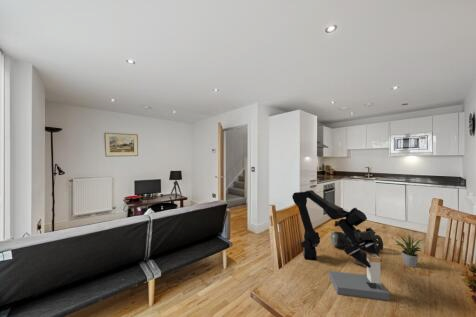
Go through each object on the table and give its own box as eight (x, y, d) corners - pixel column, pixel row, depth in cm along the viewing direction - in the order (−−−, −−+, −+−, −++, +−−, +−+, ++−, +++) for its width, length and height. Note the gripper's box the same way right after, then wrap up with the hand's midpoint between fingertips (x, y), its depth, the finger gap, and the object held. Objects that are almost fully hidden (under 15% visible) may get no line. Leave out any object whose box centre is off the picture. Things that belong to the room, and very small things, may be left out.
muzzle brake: (383, 254, 115) (383, 238, 115) (334, 250, 120) (334, 234, 120) (375, 247, 124) (375, 232, 124) (330, 243, 130) (330, 229, 130)
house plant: (414, 258, 110) (414, 230, 110) (437, 272, 96) (437, 241, 97) (388, 257, 112) (388, 229, 112) (407, 270, 98) (407, 239, 98)
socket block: (337, 294, 81) (337, 287, 81) (329, 276, 92) (329, 270, 92) (389, 300, 77) (389, 293, 77) (373, 281, 89) (373, 275, 89)
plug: (371, 282, 80) (370, 257, 80) (366, 277, 84) (366, 253, 84) (380, 283, 79) (380, 258, 80) (375, 278, 83) (375, 253, 83)
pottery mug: (377, 267, 102) (374, 257, 99) (362, 275, 101) (358, 264, 99) (360, 251, 113) (357, 241, 111) (346, 258, 113) (343, 248, 111)
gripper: (351, 226, 81) (380, 263, 71) (372, 219, 90) (401, 251, 81) (334, 237, 88) (358, 273, 78) (355, 230, 97) (380, 261, 87)
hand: (375, 264), depth 81 cm, fingers open, 9 cm apart
